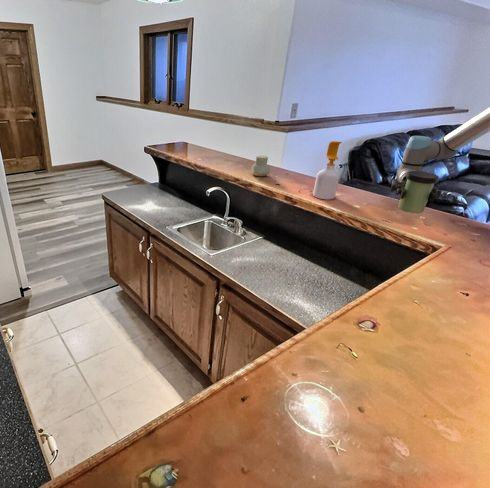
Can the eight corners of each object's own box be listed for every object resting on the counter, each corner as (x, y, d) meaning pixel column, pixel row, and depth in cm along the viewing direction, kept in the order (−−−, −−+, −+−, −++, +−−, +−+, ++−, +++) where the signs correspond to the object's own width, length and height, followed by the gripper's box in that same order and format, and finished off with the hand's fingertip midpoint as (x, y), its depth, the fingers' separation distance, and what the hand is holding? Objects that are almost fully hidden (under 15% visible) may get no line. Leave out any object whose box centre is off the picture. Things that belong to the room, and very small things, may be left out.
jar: (424, 208, 129) (436, 175, 123) (422, 215, 123) (435, 180, 117) (399, 204, 133) (410, 171, 127) (396, 209, 127) (408, 176, 122)
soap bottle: (314, 198, 154) (326, 142, 143) (311, 192, 162) (323, 138, 151) (335, 200, 153) (350, 143, 142) (332, 194, 160) (345, 139, 149)
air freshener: (269, 178, 183) (272, 159, 178) (253, 177, 183) (256, 158, 179) (265, 172, 193) (267, 154, 188) (250, 172, 193) (252, 154, 188)
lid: (437, 179, 124) (439, 174, 123) (436, 185, 117) (438, 179, 116) (407, 174, 129) (408, 169, 128) (404, 180, 122) (406, 174, 121)
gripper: (438, 193, 137) (450, 212, 119) (378, 185, 145) (380, 202, 127) (445, 175, 134) (458, 191, 116) (383, 167, 142) (387, 182, 124)
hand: (417, 197), depth 122 cm, fingers closed on jar, 8 cm apart
